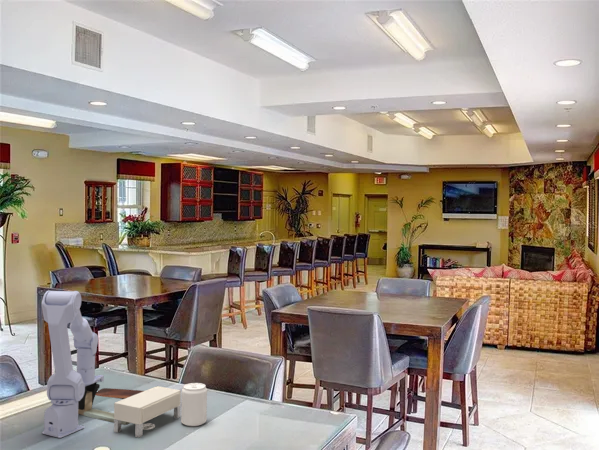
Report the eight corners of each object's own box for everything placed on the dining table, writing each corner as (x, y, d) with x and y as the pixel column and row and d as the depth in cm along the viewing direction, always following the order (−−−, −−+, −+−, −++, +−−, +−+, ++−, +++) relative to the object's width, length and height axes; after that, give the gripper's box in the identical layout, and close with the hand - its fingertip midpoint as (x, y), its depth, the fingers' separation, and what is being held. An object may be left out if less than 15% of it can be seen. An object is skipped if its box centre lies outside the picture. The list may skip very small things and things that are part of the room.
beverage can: (182, 428, 175) (182, 390, 175) (180, 419, 183) (181, 383, 183) (207, 426, 177) (208, 388, 177) (205, 417, 185) (205, 381, 185)
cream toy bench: (140, 438, 167) (140, 408, 167) (113, 431, 171) (114, 402, 171) (181, 417, 185) (181, 390, 185) (156, 412, 189) (157, 386, 189)
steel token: (148, 431, 173) (148, 429, 173) (137, 429, 175) (137, 426, 175) (157, 427, 177) (157, 424, 177) (147, 424, 179) (147, 422, 179)
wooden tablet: (89, 392, 207) (105, 382, 216) (89, 398, 207) (105, 387, 216) (152, 400, 200) (166, 389, 209) (152, 406, 200) (166, 394, 209)
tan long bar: (125, 425, 177) (125, 403, 177) (77, 414, 186) (77, 393, 186) (133, 421, 181) (134, 399, 181) (86, 410, 190) (86, 390, 190)
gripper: (93, 361, 195) (92, 399, 196) (59, 370, 182) (59, 412, 182) (108, 363, 192) (107, 402, 193) (75, 373, 179) (74, 415, 179)
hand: (85, 407), depth 187 cm, fingers closed on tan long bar, 3 cm apart
